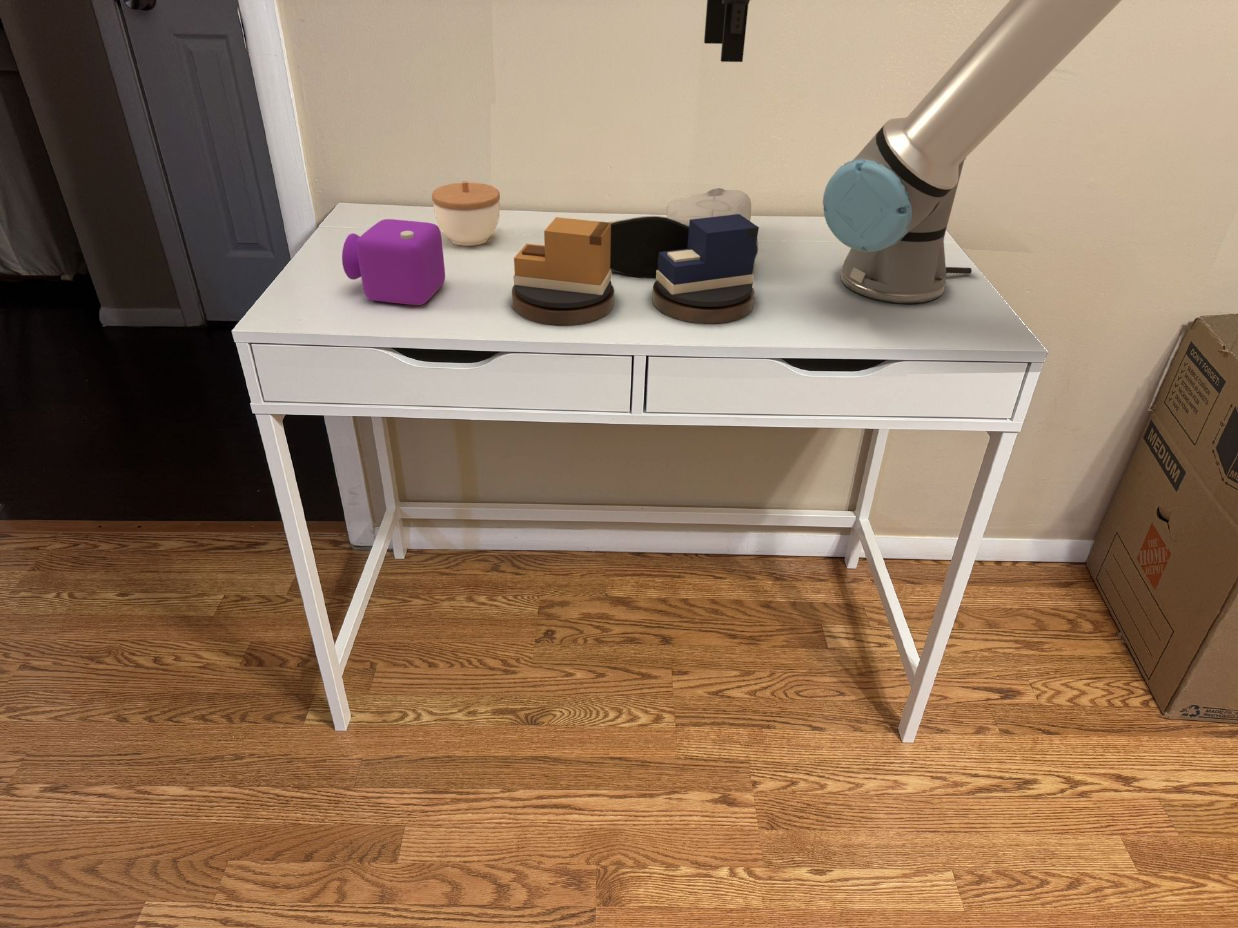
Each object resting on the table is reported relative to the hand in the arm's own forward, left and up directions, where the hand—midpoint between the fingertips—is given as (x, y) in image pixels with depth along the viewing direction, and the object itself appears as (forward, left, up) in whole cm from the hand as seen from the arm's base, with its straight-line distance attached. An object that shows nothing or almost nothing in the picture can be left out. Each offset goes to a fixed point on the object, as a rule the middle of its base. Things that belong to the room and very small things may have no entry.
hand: (722, 52), depth 112 cm
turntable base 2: (+2, +12, -31) cm, 33 cm away
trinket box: (+37, -13, -31) cm, 50 cm away
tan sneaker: (+22, +12, -28) cm, 38 cm away
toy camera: (+46, +8, -31) cm, 56 cm away
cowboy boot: (+4, -8, -31) cm, 32 cm away
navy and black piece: (+2, +12, -28) cm, 31 cm away
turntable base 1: (+22, +12, -31) cm, 40 cm away
